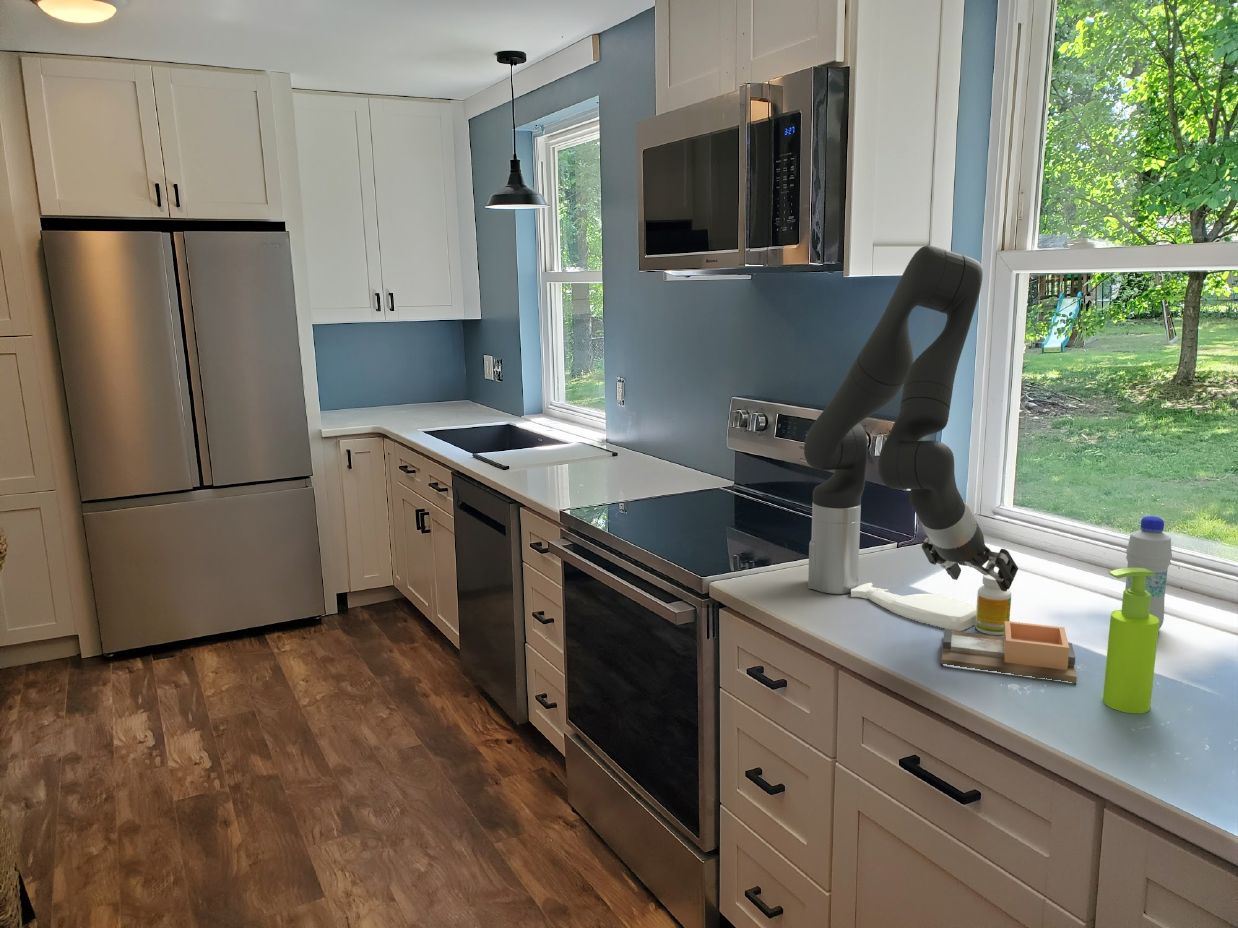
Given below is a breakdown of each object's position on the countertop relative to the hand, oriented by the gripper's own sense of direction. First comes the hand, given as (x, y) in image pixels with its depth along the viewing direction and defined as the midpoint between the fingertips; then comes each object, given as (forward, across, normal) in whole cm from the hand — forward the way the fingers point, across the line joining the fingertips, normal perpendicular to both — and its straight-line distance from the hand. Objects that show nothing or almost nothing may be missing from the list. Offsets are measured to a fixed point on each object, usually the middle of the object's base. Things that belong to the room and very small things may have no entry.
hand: (981, 580), depth 150 cm
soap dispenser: (+1, -26, +14) cm, 29 cm away
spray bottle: (+11, +15, +4) cm, 19 cm away
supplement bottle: (+11, 0, +4) cm, 12 cm away
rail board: (+4, -7, +11) cm, 14 cm away
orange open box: (+4, -11, +9) cm, 15 cm away
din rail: (+3, -7, +10) cm, 13 cm away
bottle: (+24, -18, -10) cm, 31 cm away
